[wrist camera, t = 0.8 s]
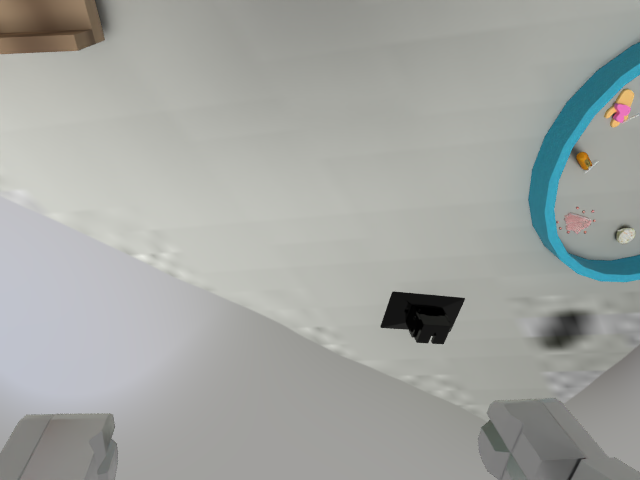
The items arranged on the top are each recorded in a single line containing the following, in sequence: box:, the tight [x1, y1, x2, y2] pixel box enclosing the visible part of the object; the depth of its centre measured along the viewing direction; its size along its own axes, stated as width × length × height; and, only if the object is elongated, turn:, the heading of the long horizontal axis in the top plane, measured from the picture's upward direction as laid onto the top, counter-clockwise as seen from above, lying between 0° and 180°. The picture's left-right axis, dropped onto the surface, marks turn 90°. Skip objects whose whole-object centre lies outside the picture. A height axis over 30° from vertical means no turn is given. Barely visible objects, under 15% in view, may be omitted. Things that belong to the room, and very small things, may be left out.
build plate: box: [381, 292, 465, 344], centre depth 58 cm, size 13×8×5 cm, turn 79°
